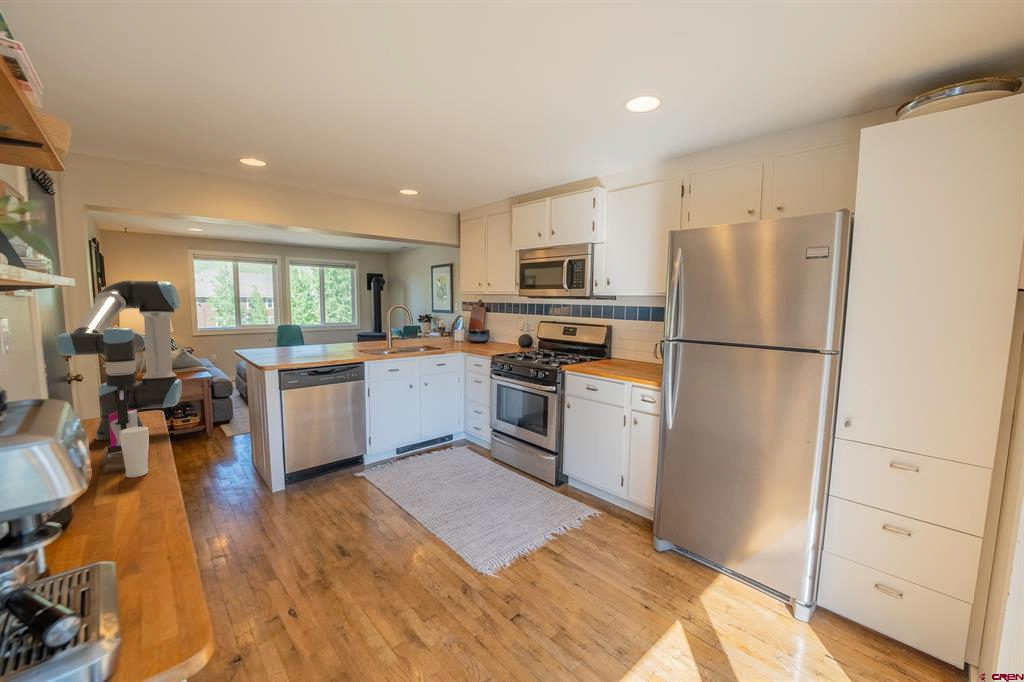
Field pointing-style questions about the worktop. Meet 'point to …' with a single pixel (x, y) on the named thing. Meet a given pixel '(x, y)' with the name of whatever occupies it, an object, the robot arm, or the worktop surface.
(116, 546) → the worktop surface
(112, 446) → the supplement box
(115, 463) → the crate
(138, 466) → the white cup
